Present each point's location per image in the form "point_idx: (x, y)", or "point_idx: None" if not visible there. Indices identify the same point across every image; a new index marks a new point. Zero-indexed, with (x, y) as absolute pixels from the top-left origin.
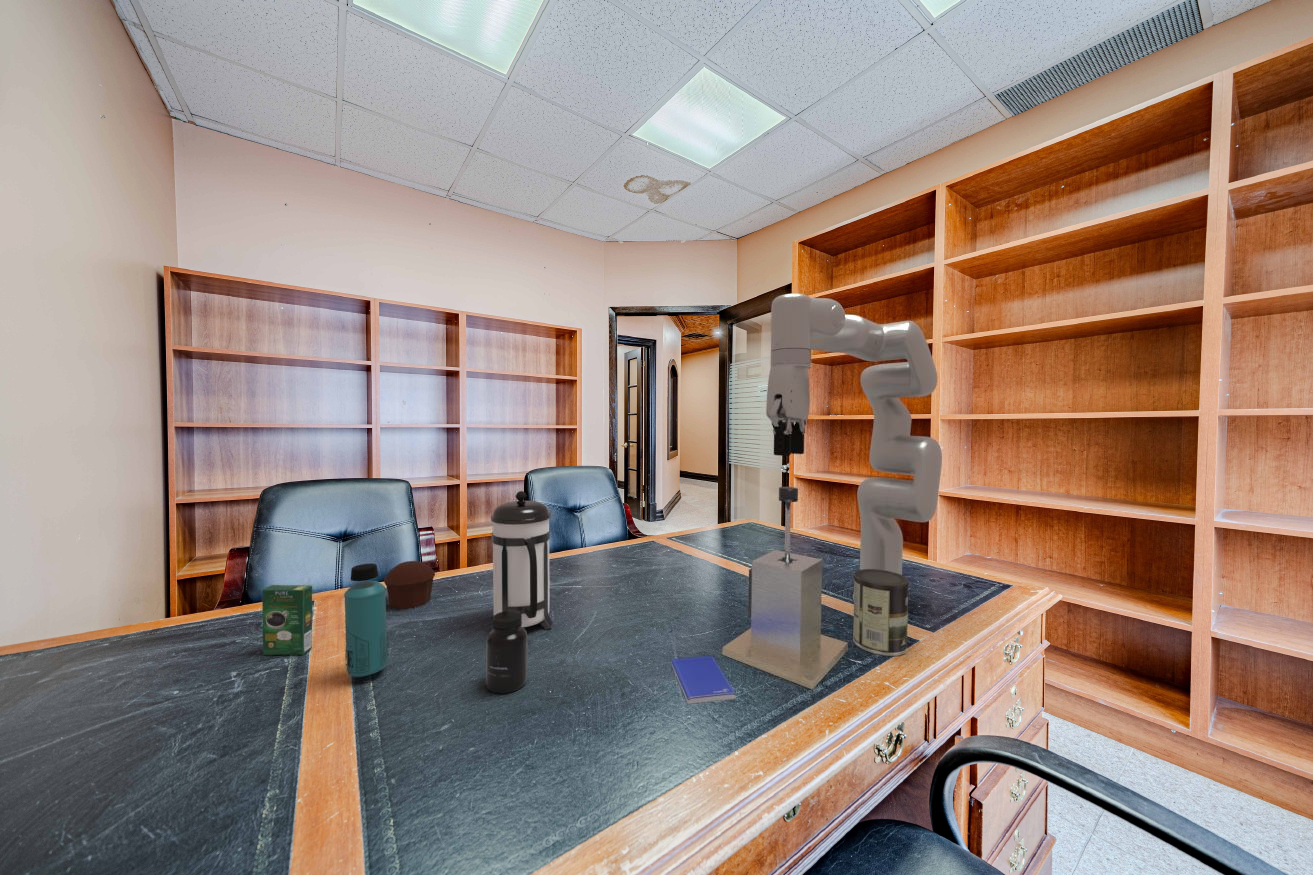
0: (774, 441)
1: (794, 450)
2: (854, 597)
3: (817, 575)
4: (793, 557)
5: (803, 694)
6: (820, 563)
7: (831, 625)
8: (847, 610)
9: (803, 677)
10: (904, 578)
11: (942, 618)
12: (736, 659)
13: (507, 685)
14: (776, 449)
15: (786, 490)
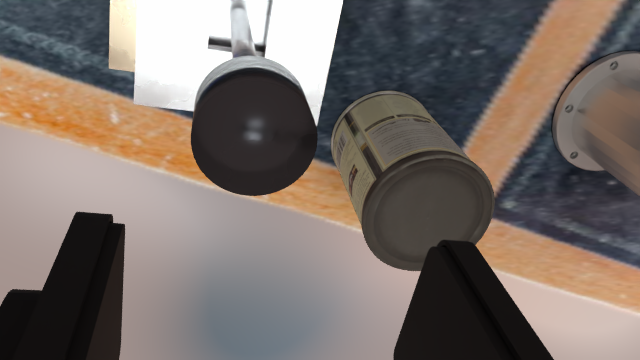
0: (29, 328)
1: (419, 320)
2: (396, 135)
3: None
4: (287, 35)
5: (82, 52)
6: None
7: (433, 35)
8: (540, 52)
9: (109, 49)
10: None
11: (557, 223)
12: None
13: None
14: (8, 295)
15: (192, 144)
